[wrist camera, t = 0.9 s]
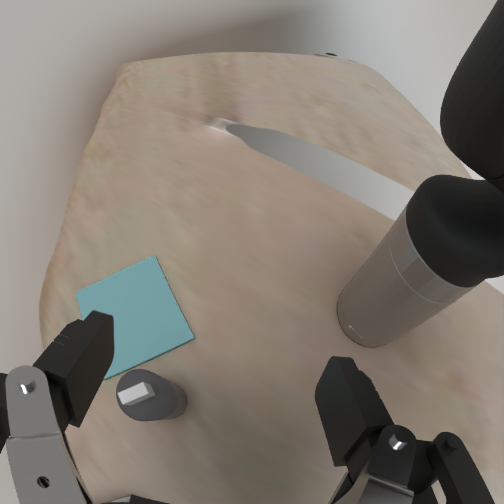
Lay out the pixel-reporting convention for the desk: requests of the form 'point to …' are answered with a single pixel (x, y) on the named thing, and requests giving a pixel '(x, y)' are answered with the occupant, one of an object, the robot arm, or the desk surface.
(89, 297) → the teal mat
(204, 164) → the desk surface
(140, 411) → the grey capped bottle
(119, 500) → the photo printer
